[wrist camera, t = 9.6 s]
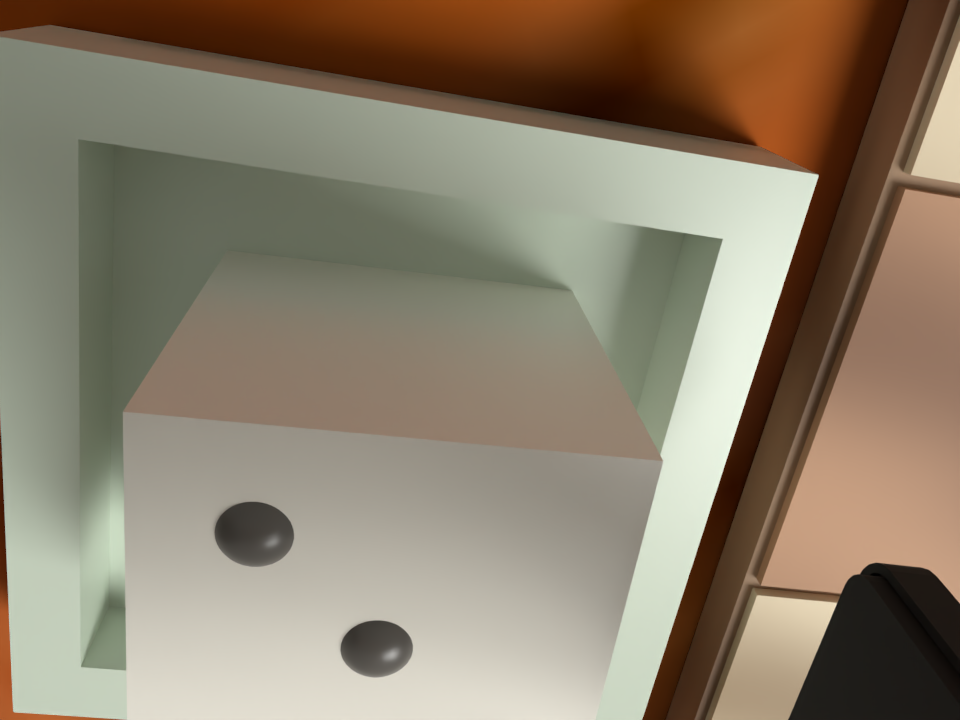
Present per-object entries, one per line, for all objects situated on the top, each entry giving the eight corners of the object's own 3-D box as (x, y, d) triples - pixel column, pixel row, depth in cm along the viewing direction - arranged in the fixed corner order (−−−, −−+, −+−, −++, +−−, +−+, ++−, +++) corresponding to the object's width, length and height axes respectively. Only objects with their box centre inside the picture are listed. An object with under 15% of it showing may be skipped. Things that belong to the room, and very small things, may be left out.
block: (227, 249, 12) (115, 422, 8) (571, 290, 13) (669, 471, 8) (216, 544, 14) (123, 828, 10) (517, 566, 15) (569, 842, 10)
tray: (49, 24, 12) (-17, 33, 10) (760, 147, 13) (819, 175, 11) (60, 624, 15) (13, 711, 14) (607, 668, 17) (631, 752, 15)
